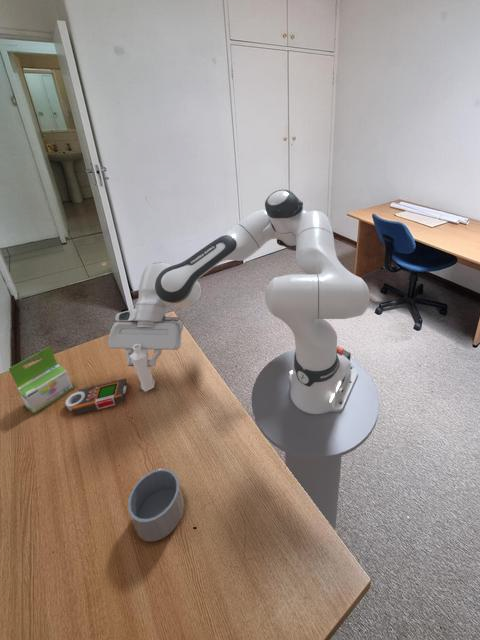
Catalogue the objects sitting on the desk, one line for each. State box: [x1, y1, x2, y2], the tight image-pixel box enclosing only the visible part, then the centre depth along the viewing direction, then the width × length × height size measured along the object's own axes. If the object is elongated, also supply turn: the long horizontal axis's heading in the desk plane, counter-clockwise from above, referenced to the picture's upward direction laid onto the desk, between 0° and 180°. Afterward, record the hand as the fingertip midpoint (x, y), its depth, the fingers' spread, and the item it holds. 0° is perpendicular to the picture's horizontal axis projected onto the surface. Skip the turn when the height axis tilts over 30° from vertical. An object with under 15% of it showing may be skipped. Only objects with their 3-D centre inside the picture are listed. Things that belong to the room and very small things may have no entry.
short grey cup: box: [127, 468, 185, 542], centre depth 66 cm, size 9×9×7 cm
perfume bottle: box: [130, 344, 156, 392], centre depth 93 cm, size 5×4×15 cm
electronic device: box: [64, 378, 128, 416], centre depth 92 cm, size 7×3×15 cm
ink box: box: [8, 345, 74, 415], centre depth 90 cm, size 10×5×14 cm, turn 148°
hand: (140, 366), depth 92 cm, fingers closed on perfume bottle, 4 cm apart
